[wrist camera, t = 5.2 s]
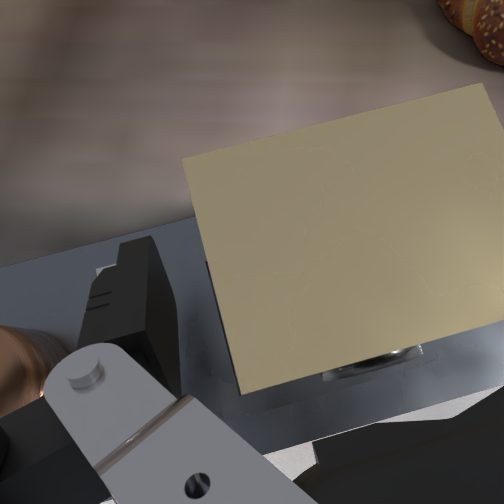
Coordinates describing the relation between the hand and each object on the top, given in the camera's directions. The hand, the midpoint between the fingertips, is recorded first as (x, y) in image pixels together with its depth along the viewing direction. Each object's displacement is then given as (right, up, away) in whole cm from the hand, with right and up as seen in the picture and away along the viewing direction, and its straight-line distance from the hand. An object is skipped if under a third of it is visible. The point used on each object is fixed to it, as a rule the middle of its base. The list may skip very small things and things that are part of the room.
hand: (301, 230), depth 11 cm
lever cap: (0, -2, +3) cm, 4 cm away
